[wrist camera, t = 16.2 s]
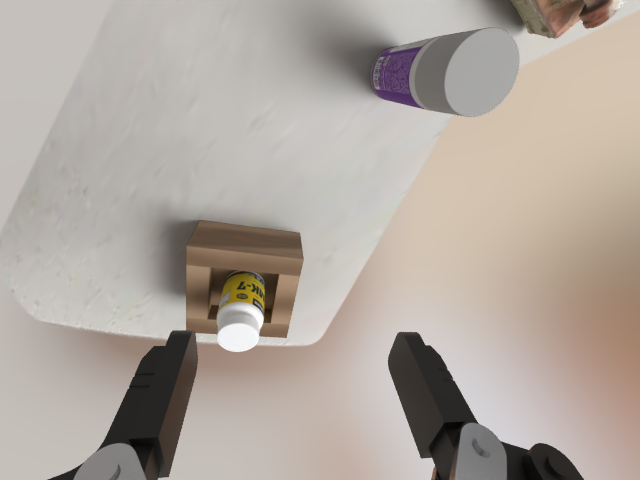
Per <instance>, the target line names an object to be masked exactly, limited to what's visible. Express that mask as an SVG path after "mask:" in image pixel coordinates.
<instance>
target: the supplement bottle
mask: <svg viewBox="0 0 640 480" xmlns="http://www.w3.org/2000/svg"><path fill="white" fill-rule="evenodd" d="M264 297H265V283H264V280H263V278H262V277H261V276H260V275H259V274H258V273H256V272H251V271H241V270H237V271H235V272H233V273H231V274H230V275H229V276H228V277H227V278H226V280H225V283H224V287H223V292H222V296H221V300H220V305H219V309H218V313H217V325H218V332H217V341H218V343H219V345H220V346H221V347H223V348H224V349H226V350H229V351H234V352H241V351H246V350H249V349H251V348H252V347H254V346H255V345H256V344H257V342H258V339H259V332H260V328H261V327H262V325H263V321H264Z"/></svg>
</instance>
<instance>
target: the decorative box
mask: <svg viewBox="0 0 640 480" xmlns="http://www.w3.org/2000/svg"><path fill="white" fill-rule="evenodd" d="M510 1H511V3H512V4H513V5H514V7H515V8H516V9H517V11H518V13H519V15H520V16H521V18H522V20H523V22H524V26H526V28H527V30H528V33H530V34H538V35H541V36H546V37H548V38H558V37H560V36H561V35H562V34H564V33H565V32H566V31H567V30H568V29H569V28H570V27H572V26H573V25H574V24H575V23H576V22H578V21H579V20H580V19H581V20H582V21H583V25H584V27H585V28H587V29H588V28H594V27H597V26H600V25H601V24H603V23H605V22H606V21H607V20H609V19H610V18H611V17H612V16H613V15H614V14H615V13H616V12H617V11H619V10H620V9H621V8H622V7H623V4H624V2H625V0H510Z"/></svg>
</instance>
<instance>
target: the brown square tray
mask: <svg viewBox="0 0 640 480" xmlns="http://www.w3.org/2000/svg"><path fill="white" fill-rule="evenodd" d="M303 260H304V258H303V251H302V244H301V237H300V233H296V232H288V231H281V230H273V229H265V228H257V227H250V226H242V225H234V224H226V223H219V222H211V221H203V220H200V221H199V223H198V225H197V227H196V229H195V231H194V233H193V234H192V236H191V238H190V240H189V242H188V244H187V246H186V331H195V333H207V334H217V332H218V325H217V313H218V309H219V305H220V300H221V296H222V292H223V287H224V283H225V280H226V278H227V277H228V276H229V275H230V274H231V273H233V272H235V271H237V270H241V271H251V272H256V273H258V274H259V275H260V276H261V277H262V278H263V280H264V283H265V297H264V321H263V325H262V327H261V328H260V332H259V336H263V337H282V338H287V333H288V329H289V324H290V319H291V315H292V310H293V306H294V301H295V296H296V292H297V287H298V283H299V278H300V273H301V269H302V264H303Z"/></svg>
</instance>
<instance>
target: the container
mask: <svg viewBox="0 0 640 480" xmlns="http://www.w3.org/2000/svg"><path fill="white" fill-rule="evenodd" d="M518 69H519V51H518V47H517V44H516V42H515V40H514V39H513V37H512V36H511V35H510V34H509V33H508V32H506V31H504V30H502V29H499V28H484V29H478V30H473V31H467V32H461V33H455V34H449V35H443V36H438V37H434V38H430V39H426V40H422V41H417V42H413V43H409V44H405V45H401V46H396V47H392V48H389V49H387V50H385V51H383V52H382V53H381V54H380V55H379V56H378V57H377V58H376V59H375V61H374V63H373V65H372V68H371V73H370V81H371V86H372V88H373V90H374V92H375V93H376V94H377V95H378V96H379V97H380V98H382V99H385V100H388V101H393V102H397V103H401V104H405V105H409V106H413V107H417V108H422V109H426V110H430V111H437V112H443V113H449V114H455V115H460V116H467V117H476V116H480V115H483V114H486V113H488V112H490V111H491V110H493V109H494V108H496V107H497V106H498V105H499V104H500V103H501V102H502V101H503V100H504V99H505V98H506V96H507V95H508V93H509V92H510V90H511V89H512V87H513V85H514V83H515V80H516V77H517V74H518Z"/></svg>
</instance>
